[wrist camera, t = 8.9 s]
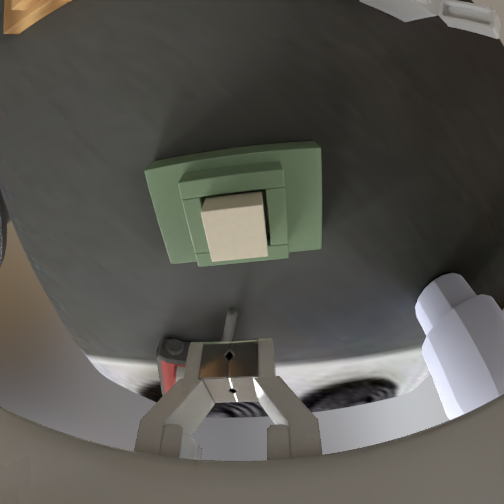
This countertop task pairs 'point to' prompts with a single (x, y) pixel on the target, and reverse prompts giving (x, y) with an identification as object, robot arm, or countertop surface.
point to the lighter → (444, 13)
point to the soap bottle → (462, 343)
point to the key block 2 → (237, 182)
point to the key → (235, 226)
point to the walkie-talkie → (183, 354)
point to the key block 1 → (27, 13)
